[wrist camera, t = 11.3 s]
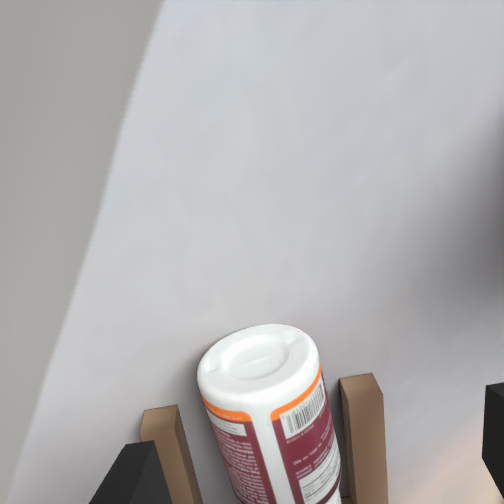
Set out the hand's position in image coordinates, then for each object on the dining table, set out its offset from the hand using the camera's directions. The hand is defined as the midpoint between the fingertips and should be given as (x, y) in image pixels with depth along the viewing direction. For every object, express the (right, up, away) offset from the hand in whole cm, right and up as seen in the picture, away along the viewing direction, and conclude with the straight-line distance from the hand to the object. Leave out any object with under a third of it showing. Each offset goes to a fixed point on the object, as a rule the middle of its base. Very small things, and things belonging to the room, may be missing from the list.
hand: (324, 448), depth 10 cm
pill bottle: (-1, +1, +7) cm, 7 cm away
